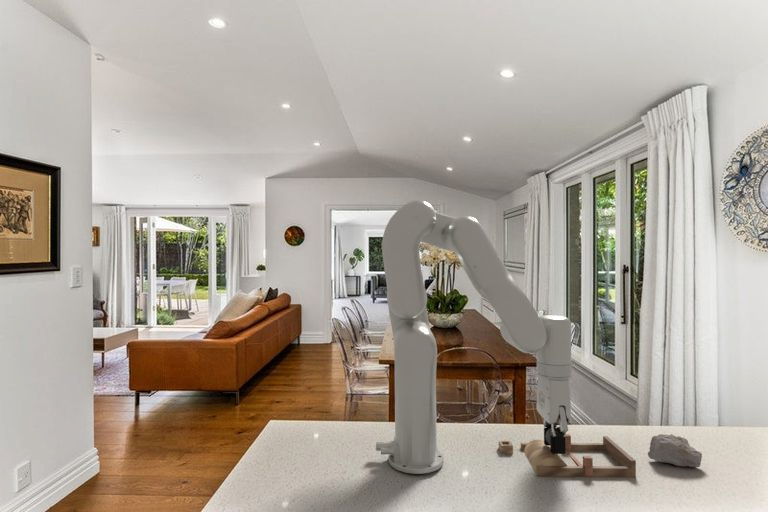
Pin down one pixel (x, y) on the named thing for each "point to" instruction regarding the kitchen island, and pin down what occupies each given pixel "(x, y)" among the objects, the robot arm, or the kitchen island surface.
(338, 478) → the kitchen island surface
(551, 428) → the ball
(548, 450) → the wooden roller rack
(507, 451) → the tee
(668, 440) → the stone
